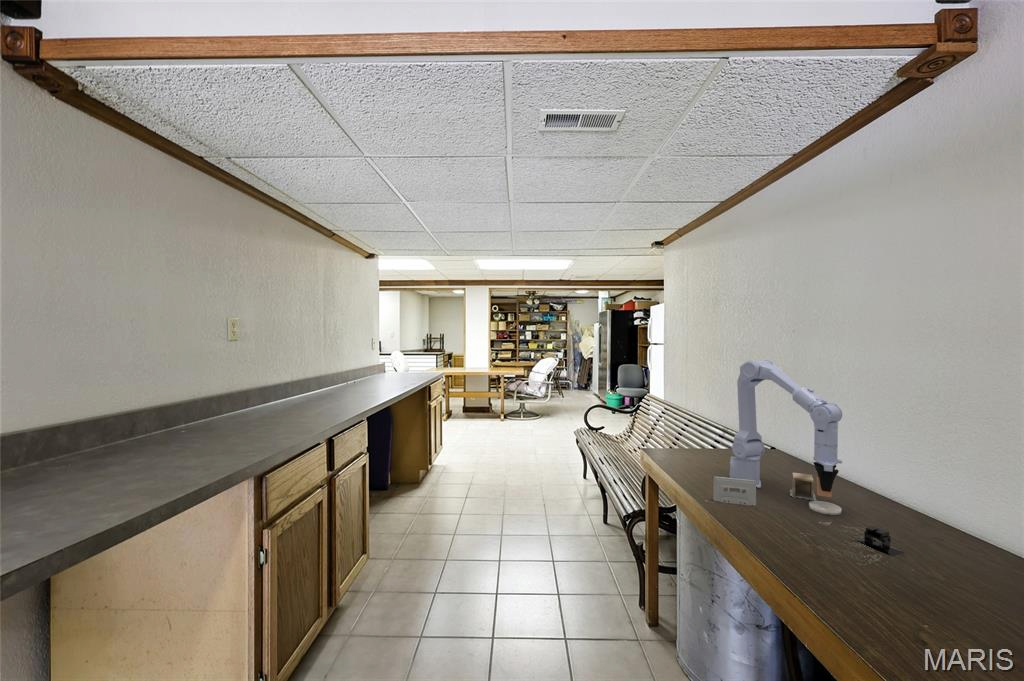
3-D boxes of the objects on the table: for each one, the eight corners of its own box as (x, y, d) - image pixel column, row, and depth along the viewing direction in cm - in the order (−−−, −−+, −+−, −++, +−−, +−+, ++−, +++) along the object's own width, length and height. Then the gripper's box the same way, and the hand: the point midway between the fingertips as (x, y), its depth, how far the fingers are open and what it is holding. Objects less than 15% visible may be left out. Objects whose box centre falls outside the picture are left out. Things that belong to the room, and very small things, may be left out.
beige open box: (793, 496, 143) (793, 477, 143) (792, 490, 149) (792, 472, 149) (813, 499, 141) (813, 480, 141) (811, 493, 146) (811, 475, 146)
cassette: (713, 501, 139) (713, 477, 139) (713, 499, 141) (713, 475, 141) (756, 506, 135) (756, 481, 135) (755, 504, 137) (755, 480, 137)
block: (817, 495, 132) (818, 478, 132) (816, 491, 135) (816, 475, 135) (831, 497, 131) (831, 480, 131) (830, 494, 134) (830, 477, 134)
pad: (790, 496, 144) (790, 496, 144) (789, 490, 150) (789, 489, 150) (816, 500, 140) (816, 500, 140) (814, 493, 146) (814, 493, 146)
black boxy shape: (841, 539, 115) (841, 521, 115) (859, 535, 117) (860, 518, 117) (897, 562, 103) (897, 543, 103) (916, 557, 106) (916, 538, 106)
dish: (810, 511, 132) (810, 507, 132) (807, 502, 139) (807, 498, 138) (843, 517, 128) (843, 512, 128) (839, 507, 135) (839, 503, 134)
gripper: (846, 451, 125) (845, 499, 125) (838, 440, 137) (838, 484, 137) (815, 447, 128) (815, 494, 128) (811, 438, 141) (810, 480, 141)
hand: (825, 489), depth 133 cm, fingers closed on block, 3 cm apart
